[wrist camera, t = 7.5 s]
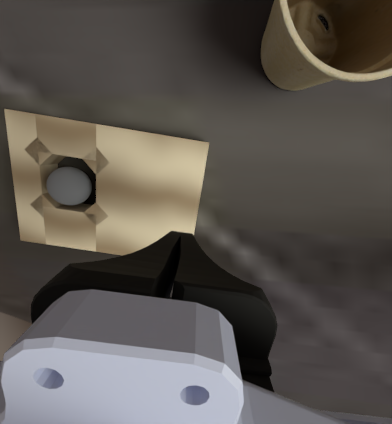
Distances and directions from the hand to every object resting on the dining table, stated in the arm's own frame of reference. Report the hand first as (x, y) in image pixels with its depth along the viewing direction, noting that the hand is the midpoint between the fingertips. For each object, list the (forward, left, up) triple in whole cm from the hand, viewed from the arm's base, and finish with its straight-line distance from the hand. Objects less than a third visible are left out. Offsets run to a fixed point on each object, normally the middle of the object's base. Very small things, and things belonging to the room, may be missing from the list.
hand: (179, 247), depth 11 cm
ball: (0, +11, -8) cm, 14 cm away
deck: (0, +8, -10) cm, 12 cm away
